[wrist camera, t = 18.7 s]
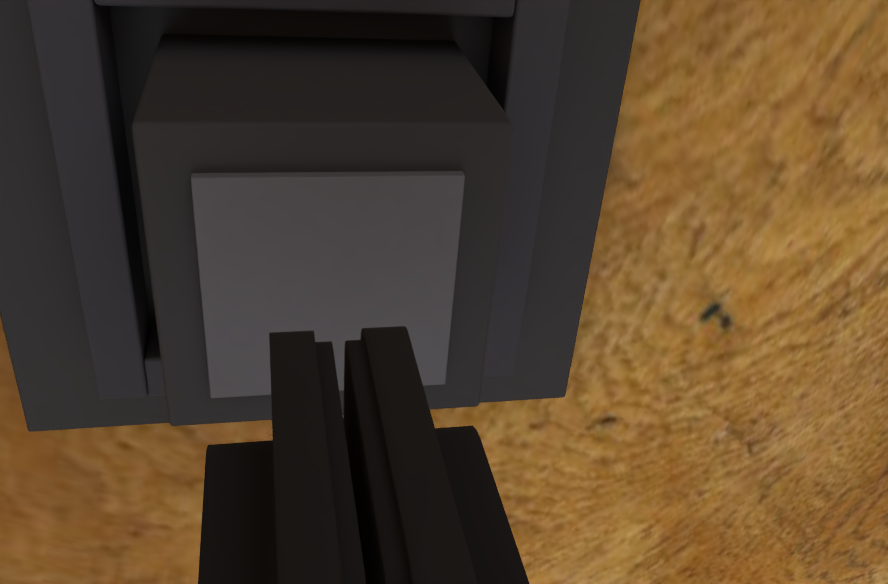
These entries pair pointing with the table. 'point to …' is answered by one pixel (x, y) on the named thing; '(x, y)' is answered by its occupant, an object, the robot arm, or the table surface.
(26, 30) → the base pad
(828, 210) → the table surface
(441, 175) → the small cube
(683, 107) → the table surface
